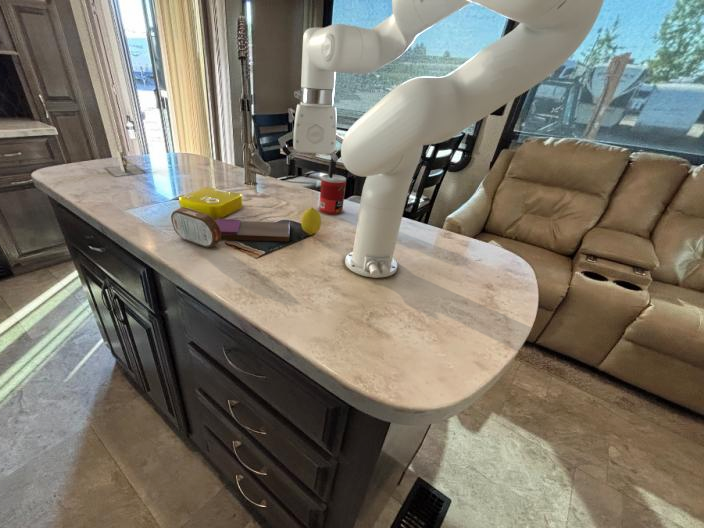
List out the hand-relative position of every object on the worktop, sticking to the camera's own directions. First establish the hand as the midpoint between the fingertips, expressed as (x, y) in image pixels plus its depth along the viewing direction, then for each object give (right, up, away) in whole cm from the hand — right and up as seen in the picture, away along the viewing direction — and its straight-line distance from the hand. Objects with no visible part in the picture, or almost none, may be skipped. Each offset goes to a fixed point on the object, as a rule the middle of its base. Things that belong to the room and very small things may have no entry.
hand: (311, 175), depth 84 cm
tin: (-30, -17, +1) cm, 35 cm away
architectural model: (-78, +23, +55) cm, 98 cm away
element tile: (-32, -3, +22) cm, 39 cm away
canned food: (+7, -2, +27) cm, 27 cm away
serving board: (-17, -13, +8) cm, 23 cm away
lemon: (0, -14, +9) cm, 16 cm away
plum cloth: (-24, -12, +6) cm, 27 cm away
